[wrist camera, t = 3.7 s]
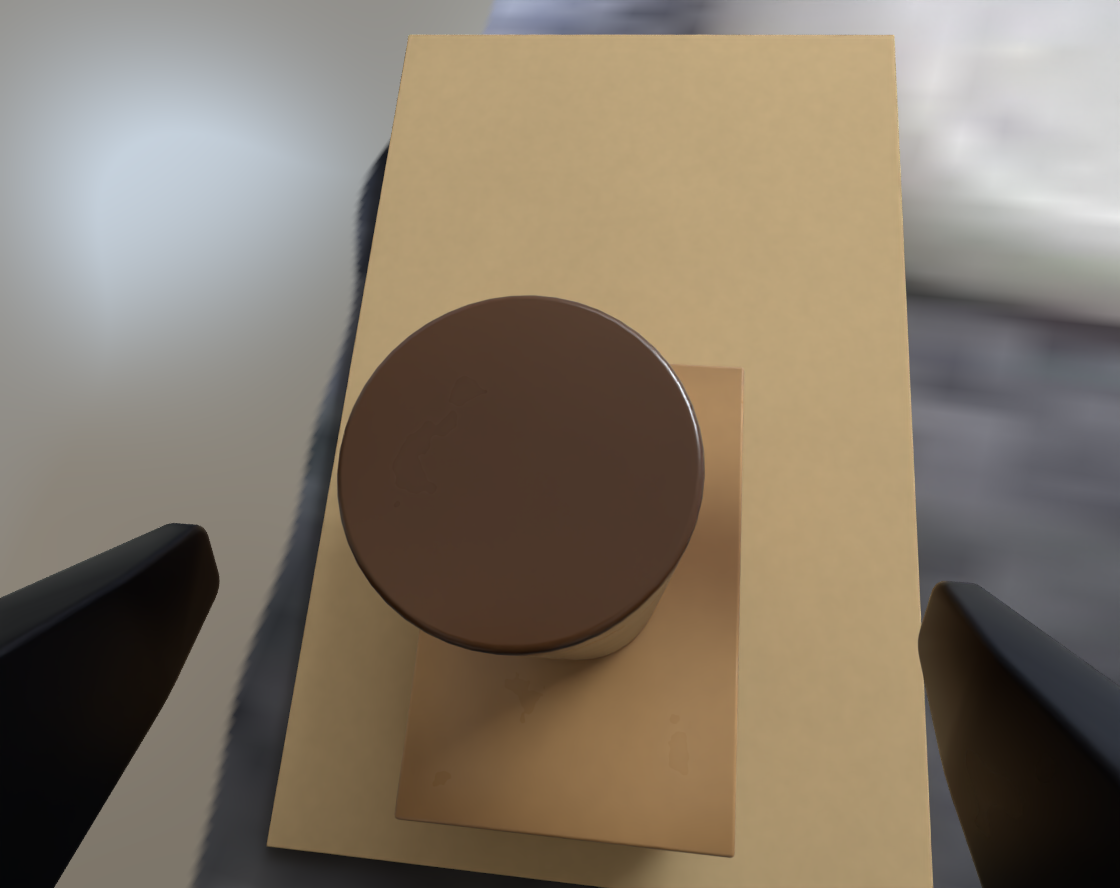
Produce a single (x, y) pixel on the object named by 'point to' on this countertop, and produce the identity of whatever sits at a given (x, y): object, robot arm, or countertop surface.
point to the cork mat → (681, 338)
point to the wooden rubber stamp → (557, 573)
